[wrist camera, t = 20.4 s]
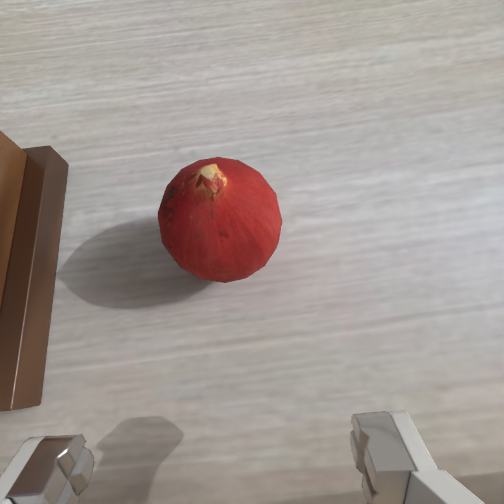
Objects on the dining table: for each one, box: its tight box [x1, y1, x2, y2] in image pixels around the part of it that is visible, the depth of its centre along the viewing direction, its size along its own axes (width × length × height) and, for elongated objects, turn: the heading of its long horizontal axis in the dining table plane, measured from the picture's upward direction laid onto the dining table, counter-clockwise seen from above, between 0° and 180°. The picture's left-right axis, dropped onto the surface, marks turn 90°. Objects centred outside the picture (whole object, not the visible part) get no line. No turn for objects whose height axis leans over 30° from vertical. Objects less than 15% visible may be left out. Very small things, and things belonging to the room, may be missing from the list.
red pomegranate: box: [158, 157, 282, 283], centre depth 15 cm, size 6×6×8 cm
